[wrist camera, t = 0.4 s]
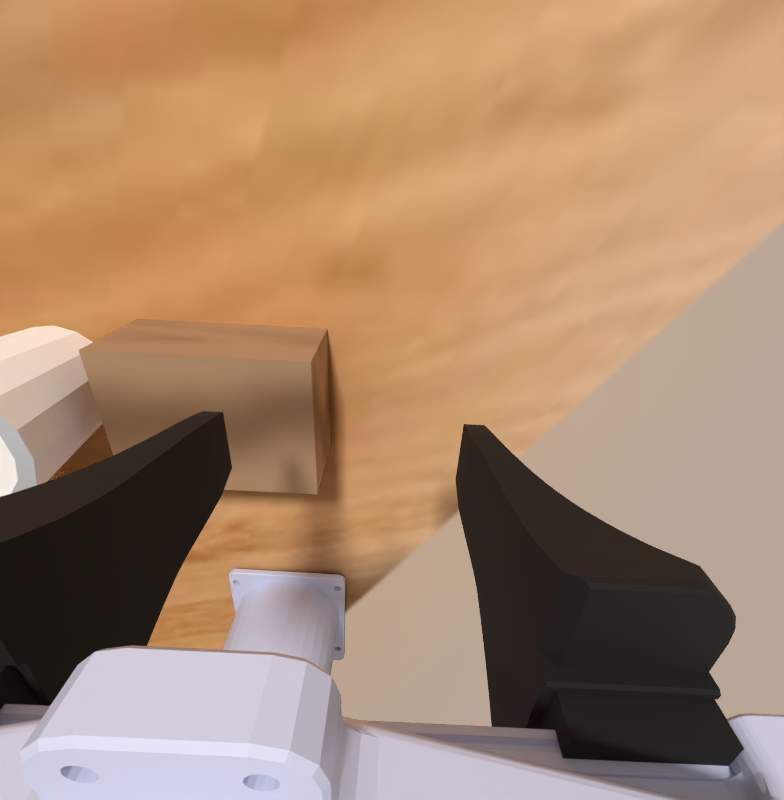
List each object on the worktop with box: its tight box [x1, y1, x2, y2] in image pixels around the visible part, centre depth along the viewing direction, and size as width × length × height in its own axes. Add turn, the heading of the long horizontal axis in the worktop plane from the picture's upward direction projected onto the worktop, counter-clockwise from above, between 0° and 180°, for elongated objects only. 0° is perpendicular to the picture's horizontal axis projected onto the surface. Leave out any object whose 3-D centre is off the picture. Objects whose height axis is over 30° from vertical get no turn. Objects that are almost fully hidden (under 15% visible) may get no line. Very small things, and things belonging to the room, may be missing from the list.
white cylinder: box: [0, 326, 103, 497], centre depth 19 cm, size 7×7×7 cm
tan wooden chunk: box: [79, 319, 331, 494], centre depth 21 cm, size 7×10×4 cm
